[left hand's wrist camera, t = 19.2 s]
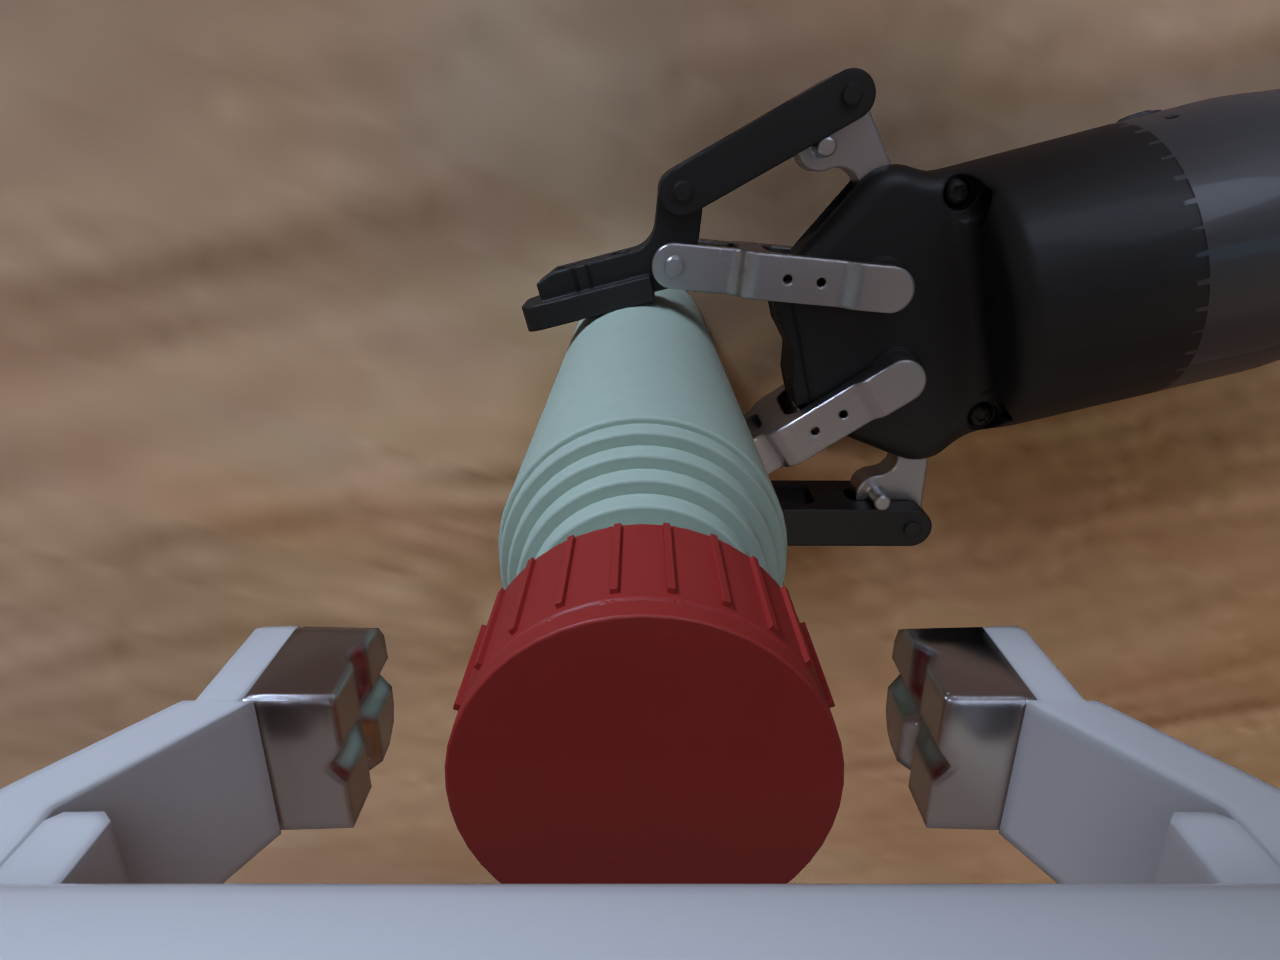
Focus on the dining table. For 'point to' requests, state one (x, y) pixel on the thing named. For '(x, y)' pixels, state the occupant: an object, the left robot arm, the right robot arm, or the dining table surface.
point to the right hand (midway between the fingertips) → (557, 402)
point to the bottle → (642, 443)
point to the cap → (644, 720)
